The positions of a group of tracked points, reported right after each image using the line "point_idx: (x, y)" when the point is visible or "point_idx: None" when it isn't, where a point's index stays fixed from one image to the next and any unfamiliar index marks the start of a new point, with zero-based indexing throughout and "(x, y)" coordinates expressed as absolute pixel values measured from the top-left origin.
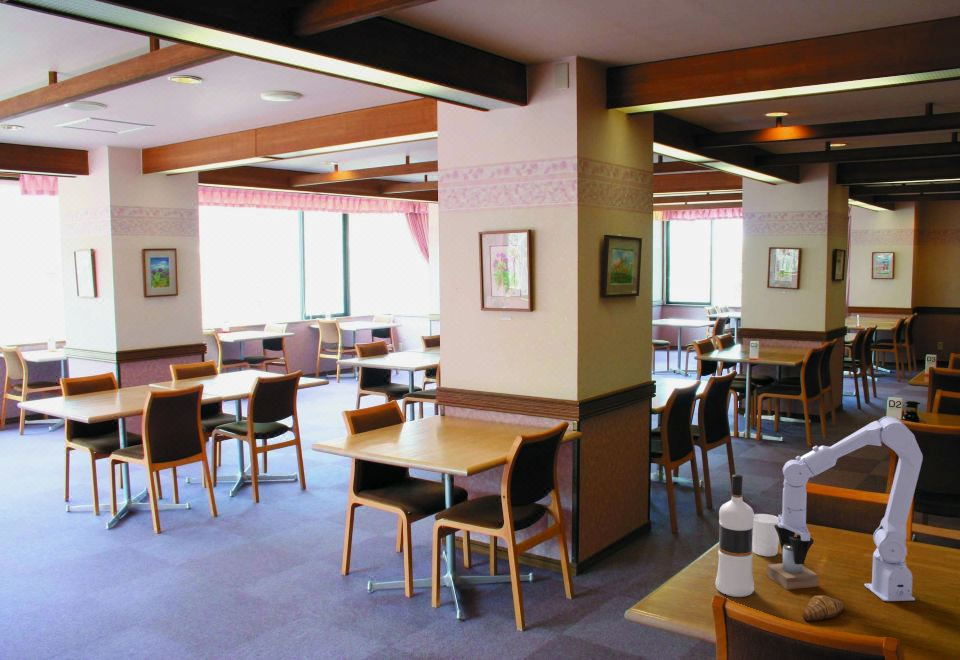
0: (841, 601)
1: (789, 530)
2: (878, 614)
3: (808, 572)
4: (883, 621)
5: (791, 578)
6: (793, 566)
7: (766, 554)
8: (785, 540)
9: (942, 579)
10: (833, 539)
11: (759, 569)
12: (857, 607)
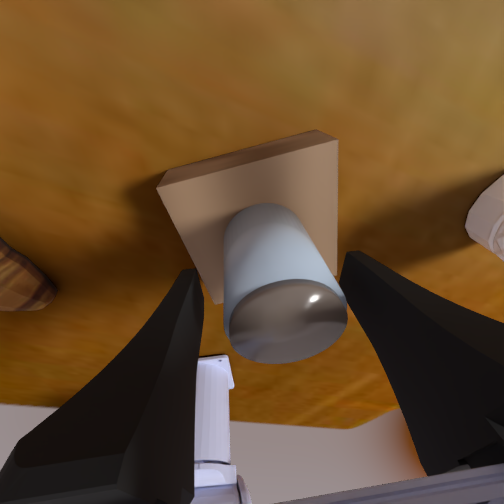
0: (35, 308)
1: (434, 414)
2: (59, 346)
3: None
4: (15, 346)
5: (168, 210)
6: (224, 252)
7: (484, 200)
8: (389, 318)
9: (258, 418)
10: None
11: (388, 121)
12: (85, 322)
